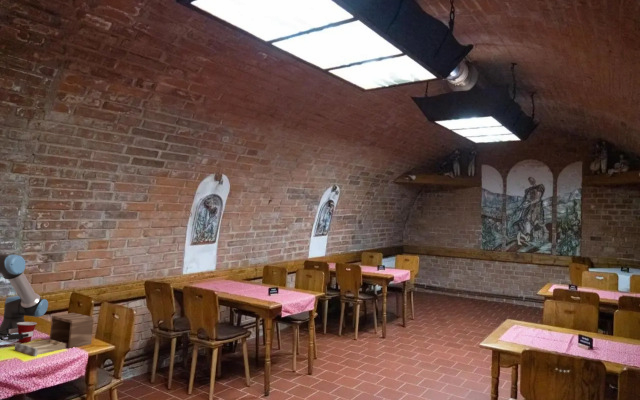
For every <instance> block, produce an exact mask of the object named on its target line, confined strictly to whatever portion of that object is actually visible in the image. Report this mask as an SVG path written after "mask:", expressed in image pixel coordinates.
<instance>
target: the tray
mask: <svg viewBox="0 0 640 400" xmlns="http://www.w3.org/2000/svg"><path fill="white" fill-rule="evenodd" d="M66 348H67V343H65V342H63V341H61V342H59V341H55V340H51V339H50V338H48V339H43V340H37V341H33V342H28V343H20V342H15V343H14V351H16V352H20V353H23V354H26V355H29V356H32V357H37V356H38V355H42V354H47V353H52V352H56V351H62V350H66Z"/></svg>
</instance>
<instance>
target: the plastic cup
mask: <svg viewBox="0 0 640 400" xmlns="http://www.w3.org/2000/svg"><path fill="white" fill-rule="evenodd" d="M37 324H38V323H37V322H35V321H25V322H19V323H17V325H18V333H17V334H22V333H26V332H32V331H33V332H34V330H35V327H36V325H37ZM32 337H33V336H30V337H25V338H23V339H22V340H21V339H18V343H20V344H26V343H31V340H32Z"/></svg>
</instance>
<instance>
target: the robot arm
mask: <svg viewBox="0 0 640 400" xmlns="http://www.w3.org/2000/svg"><path fill="white" fill-rule="evenodd" d="M25 269H26V261H25V259H24V257H22V256H21V255H17V254H5V253H0V274H1V275H2V277H3V278H4V279H5V280H8V281H9V283H10V284H11V286H12V287H13V289H14V291H15V292H16V294H17V295H13V296H8V297H6V298H5V302H4V308H3V309H4V310H3V319H2V322H1V323H0V341H4V342H5V341H12V340H13V341H14V340H19V339H21V340H22V339H23V338H25V337H30V336H32V337H33V336H34V331H32V332H26V333H22V334H18V325H17V323H19V322H26V321H25V317H35V318H37V317H38V318H39V317H42V316H44V315H45V314H46V312H47V311H48V308H49V301H48V300H47V299H45V298H42V297H41V295H40V294H38V293H36V292H35V291H34V290H35V289H33V287H32V285H31V284H30V281H29V280H28V278H27V276H26V275H25V273H24V272H25Z"/></svg>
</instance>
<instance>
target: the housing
mask: <svg viewBox="0 0 640 400" xmlns="http://www.w3.org/2000/svg"><path fill="white" fill-rule="evenodd" d="M93 326H94V316H91V315H85V314H81V313H76V312H70V313H63V314H56V315H52V316H51V324H50V332H49V339H51V340H55V341H59V342H60V341H61V342H64V341H68V345H67V349H69V348H71V349H74V348H73V347H75V348H79V347H84V346H89V345H92V341H93V339H92V338H93V329H94V327H93Z"/></svg>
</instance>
